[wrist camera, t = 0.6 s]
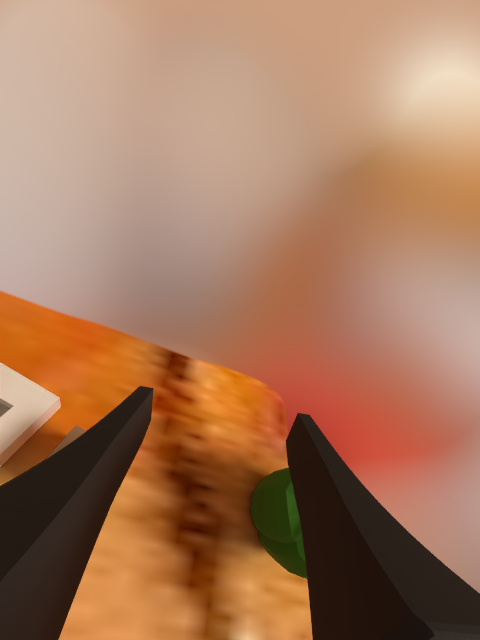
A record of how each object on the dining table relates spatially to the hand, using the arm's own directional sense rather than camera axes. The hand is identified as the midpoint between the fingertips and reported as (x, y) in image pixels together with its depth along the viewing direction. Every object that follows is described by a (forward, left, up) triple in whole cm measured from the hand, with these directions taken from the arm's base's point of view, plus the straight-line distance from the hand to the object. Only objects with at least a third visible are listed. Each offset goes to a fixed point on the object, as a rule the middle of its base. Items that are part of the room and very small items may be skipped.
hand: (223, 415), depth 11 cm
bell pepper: (+1, -15, -17) cm, 23 cm away
